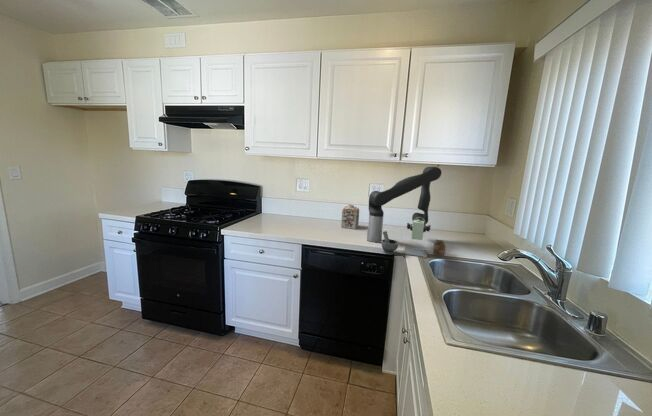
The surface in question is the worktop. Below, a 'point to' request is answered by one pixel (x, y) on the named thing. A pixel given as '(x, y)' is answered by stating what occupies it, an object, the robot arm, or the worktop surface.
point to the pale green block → (417, 229)
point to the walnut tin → (439, 248)
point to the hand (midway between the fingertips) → (417, 230)
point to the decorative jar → (350, 217)
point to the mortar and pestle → (388, 244)
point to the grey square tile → (415, 252)
